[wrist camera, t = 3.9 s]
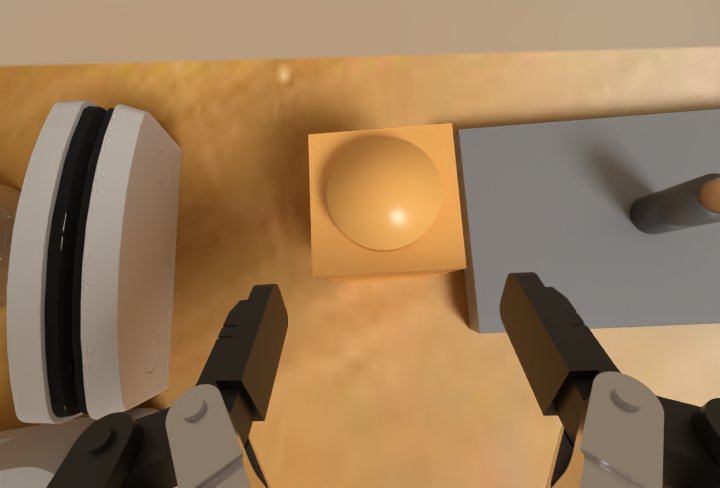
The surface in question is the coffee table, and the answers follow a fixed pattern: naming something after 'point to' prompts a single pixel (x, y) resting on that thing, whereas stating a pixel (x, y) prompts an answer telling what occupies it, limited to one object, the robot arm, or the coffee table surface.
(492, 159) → the riveted grey base plate
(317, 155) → the orange dome-topped block
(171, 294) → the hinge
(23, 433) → the grey mounting bracket
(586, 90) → the coffee table surface
